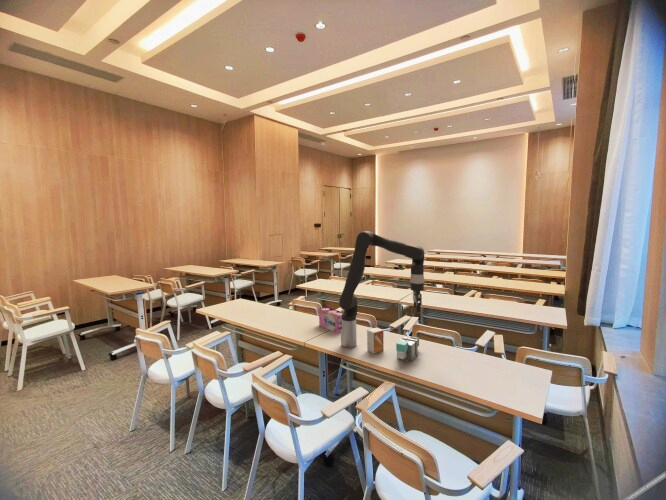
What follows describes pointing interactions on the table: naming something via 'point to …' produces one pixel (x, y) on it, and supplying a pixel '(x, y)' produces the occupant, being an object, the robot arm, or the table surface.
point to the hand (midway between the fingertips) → (416, 309)
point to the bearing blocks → (411, 348)
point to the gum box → (330, 319)
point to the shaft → (404, 354)
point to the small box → (375, 340)
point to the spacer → (402, 346)
